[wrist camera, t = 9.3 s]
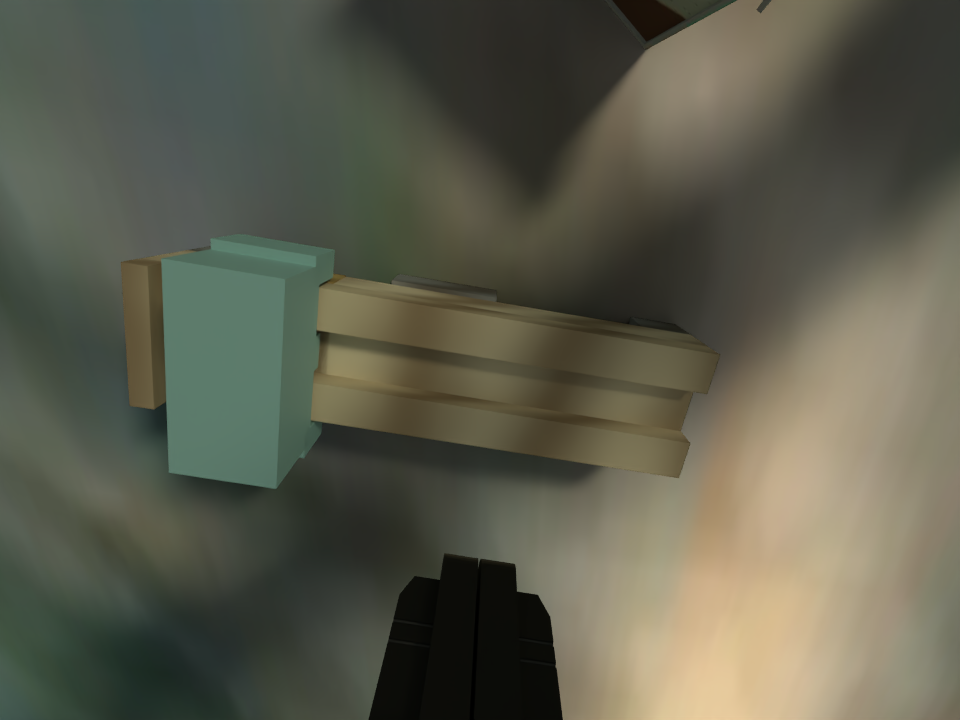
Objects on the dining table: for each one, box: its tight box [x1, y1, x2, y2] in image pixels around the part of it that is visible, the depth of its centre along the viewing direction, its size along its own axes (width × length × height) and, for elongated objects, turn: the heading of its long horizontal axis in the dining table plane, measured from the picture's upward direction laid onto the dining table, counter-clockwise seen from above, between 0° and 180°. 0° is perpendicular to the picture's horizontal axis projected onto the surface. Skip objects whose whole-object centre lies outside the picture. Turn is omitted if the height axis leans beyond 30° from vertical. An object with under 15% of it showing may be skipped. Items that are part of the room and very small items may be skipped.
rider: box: [161, 234, 335, 489], centre depth 20 cm, size 4×9×5 cm, turn 170°
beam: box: [121, 246, 720, 478], centre depth 23 cm, size 24×6×6 cm, turn 81°
